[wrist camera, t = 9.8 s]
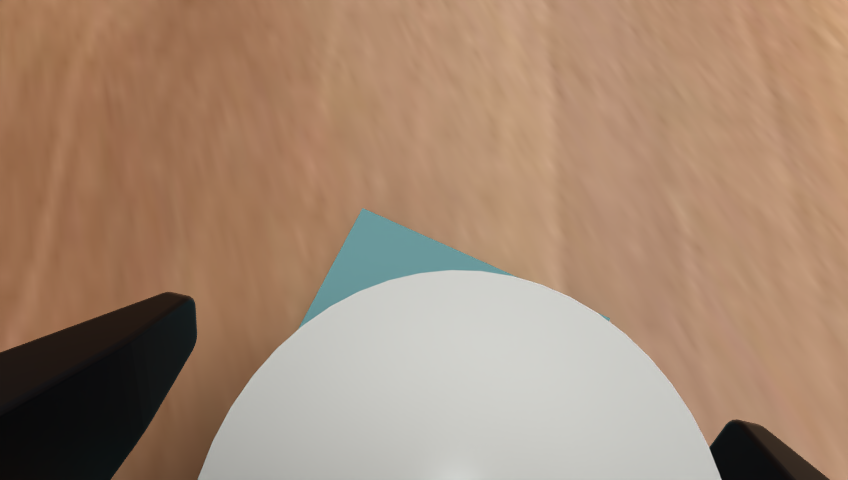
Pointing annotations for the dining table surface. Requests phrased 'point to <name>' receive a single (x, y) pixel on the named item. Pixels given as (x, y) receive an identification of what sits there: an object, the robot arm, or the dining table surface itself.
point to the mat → (386, 260)
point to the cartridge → (459, 393)
